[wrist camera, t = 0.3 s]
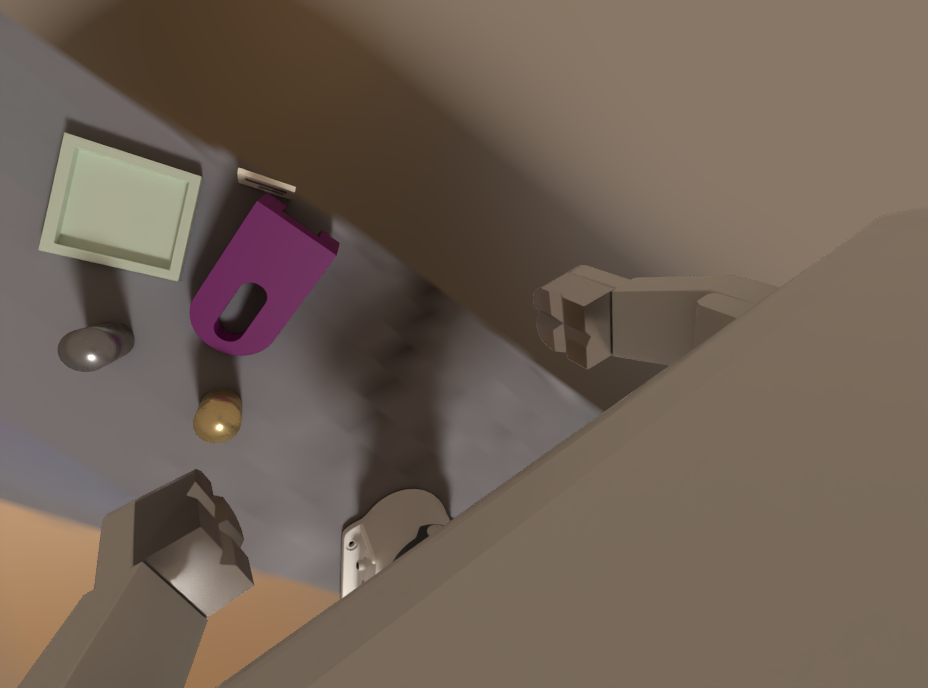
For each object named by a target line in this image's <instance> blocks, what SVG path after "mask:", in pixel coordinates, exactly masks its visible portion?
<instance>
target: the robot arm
mask: <svg viewBox="0 0 928 688" xmlns="http://www.w3.org/2000/svg"><path fill="white" fill-rule="evenodd" d="M533 302H534V307H535V308H536V309H538V310H539V314H538V317H537V320H536V324H537V330H538V333H539V335H540V337H541V339H542V341H543V342H544V343H545V344H546V345H547V346H548V347H549V348H551V349H552V350H554V351H559V352H566V353H567V357H568V359H570V360H572V361H573V362H575V363H577V364H579V365H580V366H582V367H584V368H586V369H589V368H591V367H592V366H594V365H596V364H597V363H599V362H601V361H602V360H604V359H606V358H607V357H609V356H611V355H612V354H613V356H617V357H623V358H628V359H634V360H640V361H646V362H652V363H657V364H663V365H669V366H668V367H667V368H666V369H664V370H663V371H661V372H660V373H659V374H657V375H656V376H654V377H653V378H651V379H650V380H649V381H647V382H646V383H644V384H643V385H642V386H640V387H639V388H637V389H636V390H635V391H633V392H632V393H631V394H629V395H628V396H626V397H625V398H623V399H622V400H620V401H619V402H618V403H616V404H615V405H613V406H612V407H611V408H610V409H608V410H607V411H605V412H604V413H602V414H601V415H599V416H598V417H596V418H595V419H594V420H592V421H591V422H589V423H588V424H587V425H585V426H584V427H582V428H581V429H580V430H578V431H577V432H575V433H574V434H572V435H571V436H570V437H568V438H567V439H565V440H564V441H563V442H561V443H560V444H558V445H557V446H556V447H554V448H553V449H551V450H550V451H548V452H547V453H546V454H544V455H543V456H541V457H540V458H539V459H537V460H536V461H534V462H533V463H531V464H530V465H529V466H527V467H526V468H524V469H523V470H522V471H520V472H519V473H517V474H516V475H515V476H513V477H512V478H510V479H509V480H507V481H506V482H505V483H503V484H502V485H500V486H499V487H498V488H496V489H495V490H493V491H492V492H491V493H489V494H488V495H486V496H485V497H483V498H482V499H481V500H479V501H478V502H476V503H475V504H474V505H472V506H471V507H469V508H468V509H467V510H465V511H464V512H462V513H461V514H460V515H458V516H457V517H455V518H454V519H453V520H451V521H450V519H449V517H448V515H447V513H446V510H445V508H444V506H443V504H442V503H441V502H440V500H439V499H438V498H437V497H435V496H434V495H433V494H431V493H429V492H427V491H424V490H419V489H406V490H401V491H398V492H395V493H393V494H390V495H388V496H387V497H385V498H383V499H382V500H381V501H379V502H378V503H377V504H376V505H375V506H374V507H373V508H372V509H371V510H370V511H369V512H368V513H367V514H366V515H365V516H364V517H363V518H362V519H360V520H358V521H356V522H355V523H353V524H351V525H350V526H348V527H347V528H346V529H345V530H344V531H343V533H342V552H341V586H340V600H339V601H337V602H336V603H334V604H333V605H332V606H330V607H329V608H328V609H326V610H324V611H323V612H322V613H320V614H319V615H317V616H316V617H315V618H313V619H312V620H310V621H309V622H308V623H306V624H305V625H303V626H302V627H300V628H299V629H298V630H296V631H295V632H294V633H292V634H290V635H289V636H288V637H286V638H285V639H283V640H282V641H281V642H279V643H278V644H277V645H275V646H273V647H272V648H271V649H269V650H268V651H266V652H265V653H264V654H262V655H261V656H259V657H258V658H257V659H255V660H254V661H252V662H251V663H250V664H248V665H247V666H245V667H244V668H242V669H241V670H239V671H238V672H237V673H235V674H234V675H232V676H231V677H230V678H228V679H227V680H225V681H224V682H223V683H222V684H220V685H218V686H217V687H216V688H928V207H923V208H916V209H909V210H902V211H897V212H892V213H888V214H885V215H883V216H881V217H879V218H877V219H875V220H873V221H872V222H871V223H869V224H868V225H867V226H865V227H864V228H863V229H861V230H860V231H859V232H857V233H856V234H854V235H853V236H852V237H850V238H849V239H847V240H846V241H845V242H843V243H842V244H840V245H839V246H838V247H836V248H835V249H833V250H832V251H830V252H829V253H828V254H826V255H825V256H823V257H822V258H821V259H820V260H818V261H816V262H815V263H814V264H812V265H811V266H810V267H808V268H807V269H805V270H804V271H802V272H801V273H800V274H798V275H797V276H795V277H794V278H792V279H791V280H790V281H788V282H787V283H786V284H784V285H783V286H781V287H777V286H773V285H770V284H766V283H762V282H758V281H755V280H751V279H747V278H743V277H740V276H736V275H725V276H689V277H688V276H686V277H646V278H634V279H632V280H629V279H626V278H623V277H620V276H616V275H614V274H611V273H607V272H604V271H601V270H599V269H595V268H592V267H589V266H586V265H582V266H577V267H576V268H574V269H572V270H571V271H569V272H567V273H565V274H564V275H562V276H561V277H559V278H557V279H555V280H553V281H552V282H550V283H548V284H546V285H544V286H543V287H541V288H539V289H537V290H536V291H534V296H533ZM243 541H244V537H243V533H242V529H241V527H240V524H239V522H238V520H237V517H236V515H235V514H234V512H233V510H232V509H231V507H230V506H229V504H228V503H227V502H226V500H225V499H224V498H223V497H220V496H214V495H213V491H212V485H211V482H210V481H209V480H208V478H207V477H206V476H205V475H204V474H203V473H202V471H200V470H197V469H195V470H193V471H191V472H189V473H187V474H185V475H183V476H181V477H179V478H177V479H175V480H173V481H171V482H169V483H167V484H165V485H163V486H161V487H159V488H157V489H155V490H153V491H151V492H149V493H147V494H145V495H143V496H141V497H139V498H138V499H136V500H133V501H131V502H130V503H128V504H126V505H124V506H122V507H120V508H118V509H116V510H115V511H113V512H111V513H109V514H107V515H106V517H105V518H104V519H103V521H102V527H101V535H100V543H99V552H98V560H97V568H96V576H95V585H94V590H92V591H90V592H88V593H87V594H85V595H84V596H83V597H82V598H81V600H80V601H79V602H78V604H77V605H76V607H75V608H74V609H73V611H72V612H71V613H70V615H69V616H68V618H67V619H66V620H65V622H64V623H63V625H62V626H61V627H60V629H59V630H58V632H57V633H56V634H55V636H54V637H53V639H52V640H51V641H50V643H49V644H48V645H47V647H46V648H45V650H44V651H43V652H42V654H41V655H40V657H39V658H38V659H37V661H36V662H35V663H34V665H33V666H32V668H31V669H30V670H29V672H28V673H27V675H26V676H25V677H24V679H23V680H22V682H21V683H20V684H19V686H18V687H17V688H184V686H185V683H186V680H187V677H188V674H189V671H190V669H191V666H192V663H193V660H194V657H195V655H196V652H197V649H198V646H199V643H200V641H201V638H202V635H203V632H204V629H205V626H206V624H207V621H208V620H207V619H206V618H207V617H209V616H210V615H212V614H213V613H214V612H216V611H217V610H219V609H220V608H222V607H223V606H225V605H226V604H228V603H229V602H231V601H232V600H234V599H235V598H237V597H238V596H240V595H241V594H242V593H244V592H245V591H247V590H248V589H250V588H251V587H253V586H254V582H253V577H252V573H251V568H250V564H249V559H248V557H247V556H246V554H245V553H244V552H243V551H242V550H241V545H242V543H243ZM351 541H353V544H351V545H349V543H350V542H351Z"/></svg>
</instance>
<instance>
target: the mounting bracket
mask: <svg viewBox="0 0 928 688" xmlns="http://www.w3.org/2000/svg"><path fill="white" fill-rule="evenodd" d="M286 207H287V206H286V205H285V204H284V203H282V202H281V201H279V200H278V199H276V198H275V197H274V196H272V195H271V194H269V193H268V192H267V193H266V194H265V195H263V196H262V197H261V198H260V199H259V200H257V202H256V203H255V205H254V206H253V208H252V209H251V211H250V212H249V214H248V215H247V217H246V218H245V220H244V222H243V223H242V225H241V226H240V228H239V229H238V231H237V232H236V234H235V235H234V237H233V238H232V240H231V242H230V243H229V245H228V246H227V248H226V249H225V251H224V252H223V254H222V255H221V257H220V259H219V260H218V262H217V263H216V265H215V266H214V268H213V269H212V271H211V272H210V274H209V275H208V277H207V279H206V280H205V282H204V283H203V285H202V286H201V288H200V289H199V291H198V292H197V294H196V295H195V297H194V299H193V301H192V303H191V306H190V320H191V324H192V326H193V328H194V330H195V332H196V333H197V335H198V336H199V337H200V338H201V339H202V340H203V341H204V342H205V343H206V344H207V345H209V346H210V347H212V348H214V349H216V350H218V351H220V352H223V353H226V354H230V355H239V356H242V355H251V354H255V353H258V352H260V351H262V350H264V349H265V348H267V347H268V346H269V345H270V344H271V343H272V342H273V341H274V339H275V338H276V337H277V335H278V334H279V333H280V331H281V330H282V329H283V327H284V326H285V325H286V323H287V322H288V320H289V319H290V318H291V316H292V315H293V314H294V312H295V311H296V310H297V308H298V307H299V306H300V304H301V303H302V301H303V300H304V299H305V297H306V296H307V295H308V293H309V292H310V291H311V289H312V288H313V287H314V285H315V284H316V283H317V281H318V280H319V278H320V277H321V276H322V274H323V273H324V272H325V270H326V269H327V268H328V266H329V265H330V264H331V262H332V261H333V260H334V258H335V257H336V255H337V252H338V248H339V242H337V241H336V240H335V239H333V238H332V237H330V236H329V235H328V234H326V233H325V232H323V231H321V232H320V233H319V234H318V235H315V234H314V233H313V232H311V231H310V230H308V229H307V228H305V227H304V226H302V225H301V224H300V223H298V222H297V221H295V220H294V219H292V218H291V217H290V216H288V215H287V214H285V213H284V210H285V209H286ZM249 282H251V283H256V284H258V285H260V286H261V287H263V288H264V290H265V291H266V293H267V300H266V302H265V303H264V305H263V306H262V308H261V309H260V310H259V312H258V313H257V315H256V316H255V317H254V319H253V320H252V322H251V323H250V324H249V326H248V327H247V329H246V330H245V331H244V332H242V333H239V334H232V333H229V332H227V331H225V330H224V329H223V328H222V327H221V325H220V323H219V317H220V315H221V314H222V312H223V311H224V309H225V308H226V306H227V305H228V303H229V302H230V300H231V299H232V297H233V296H234V294H235V293H236V291H237V290H238V289H239V287H240V286H241V285H242V284H244V283H249Z"/></svg>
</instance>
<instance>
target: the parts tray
mask: <svg viewBox="0 0 928 688" xmlns="http://www.w3.org/2000/svg"><path fill="white" fill-rule="evenodd" d="M202 183H203V179H202V177H201V176H198V175H195V174H192V173H189V172H186V171H183V170H179V169H176V168H173V167H170V166H167V165H164V164H161V163H158V162H155V161H152V160H148V159H145V158H142V157H139V156H136V155H133V154H130V153H127V152H124V151H121V150H117V149H114V148H111V147H108V146H105V145H102V144H99V143H96V142H93V141H90V140H86V139H83V138H80V137H77V136H74V135H71V134H68V133H65V132H64V137H63V141H62V146H61V150H60V155H59V160H58V164H57V169H56V173H55V178H54V182H53V187H52V191H51V196H50V201H49V205H48V210H47V214H46V219H45V223H44V228H43V232H42V237H41V242H40V246H39V250H41V251H45V252H49V253H54V254H58V255H63V256H67V257H72V258H76V259H81V260H85V261H90V262H94V263H99V264H103V265H107V266H112V267H116V268H121V269H125V270H130V271H134V272H139V273H143V274H148V275H152V276H156V277H161V278H165V279H170V280H174V281H181V276H182V272H183V267H184V263H185V258H186V254H187V250H188V245H189V241H190V236H191V232H192V227H193V223H194V218H195V214H196V209H197V205H198V200H199V196H200V191H201V187H202Z"/></svg>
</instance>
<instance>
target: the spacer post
mask: <svg viewBox="0 0 928 688" xmlns="http://www.w3.org/2000/svg"><path fill="white" fill-rule="evenodd" d="M133 346H134V336H133V333H132V332H131V330H130V329H129V328H127V327H126V326H124V325H122V324H120V323H115V322H107V323H102V324H98V325H94V326H90V327H86V328H82V329H78V330H75V331H72V332H70V333H68V334H66V335H65V336H64V337H63V338H62V339H61V341H60V342H59V345H58V355H59V357H60V359H61V361H62V362H63V363H64V364H65V365H66V366H68V367H69V368H71V369H74V370H77V371H82V372H90V371H95V370H98V369H100V368H102V367H104V366H106V365H108V364H109V363H111V362H113V361H115V360H117V359H119V358H120V357H122V356H124V355H126V354H127V353H129V352H130V351H131V349H132V348H133Z"/></svg>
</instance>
